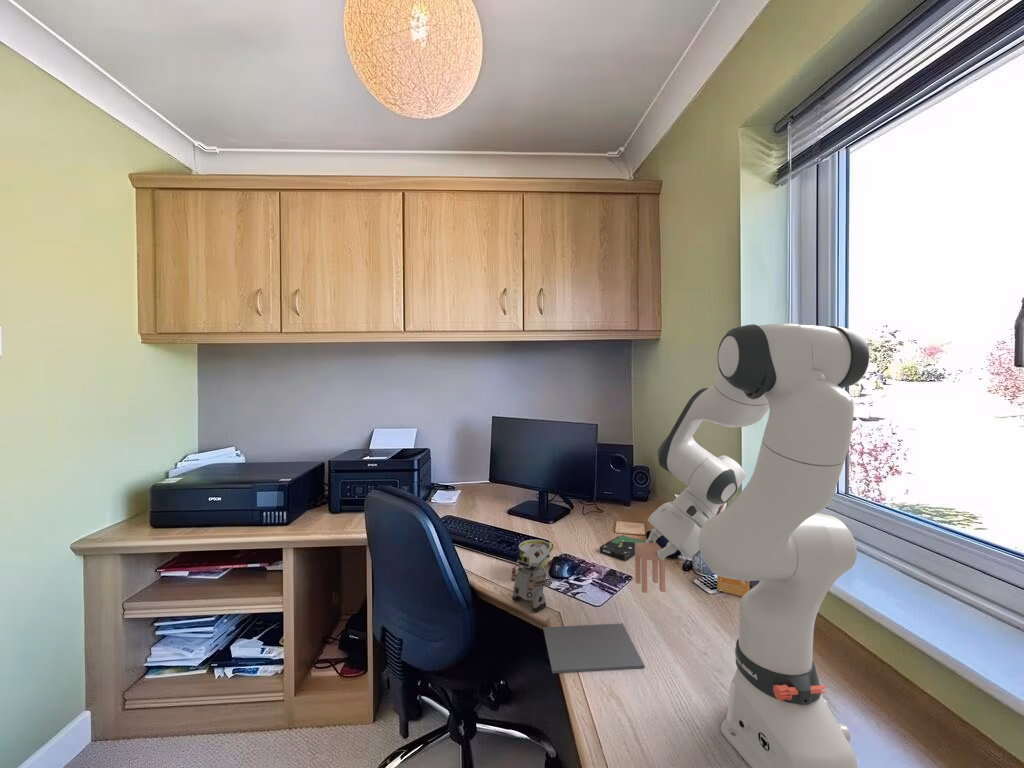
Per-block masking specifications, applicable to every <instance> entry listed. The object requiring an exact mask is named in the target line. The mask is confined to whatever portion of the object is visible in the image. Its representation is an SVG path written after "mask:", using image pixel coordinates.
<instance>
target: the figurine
mask: <svg viewBox="0 0 1024 768" xmlns="http://www.w3.org/2000/svg"><path fill="white" fill-rule="evenodd" d="M530 547H531V548H530V549H529V550H527V551H526V552H525V553H524V554H523V555H522V556H521V557H520V556H519V558H518V559H517V560H516V561H517V564H518V565H514V567H513V568H512V570H511V579H510V580H511V582H514V584H513V585H514V586H513V589H512V590H513V592H512V598H511V599H512V600H511V601H514V602H516V603H517V602H518V601H520V599H523V600H526V601H532V607H531V611H532V612H534V613H536V614H537V613H538V612H540V610H543V609H545V608H546V606H547V604H546V600H545V598H546V597H545V593H544V588H547V587H548V588H551V585H552V577H549V578H550V579H549V580H548V581H546V578H547V572H546V573H545V572H544V571H543V570H540V566H541V563H542V562H543V561H544V560H545V559H546V558H547V557H549V559H550V558H551V556H549V554H550V555H551V553H550V552H549V551H548V549H547V548H546V547H545V545H544V544H540V543H536V544H534V543H533V544H532V545H531V546H530ZM522 566H523V567H522ZM516 567H517V571H516ZM516 572H517V573H516Z"/></svg>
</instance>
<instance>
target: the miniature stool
mask: <svg viewBox="0 0 1024 768" xmlns="http://www.w3.org/2000/svg"><path fill="white" fill-rule="evenodd" d="M659 549H663V548H662V547H661V546H660V545H659V544H658V543H657V541H656V542H651V543H635V556H634V567H635V568H634V571H635V573H634V575H635V576H634V577H635V578H634V579H635V583H636V584H638V585H639V584H641V592H642V593H643V594H647V593H648V561H652V582H653V583H654V584H658V583H659V591H660V592H661V593H665V592H666V558H665V559H664V560H661V559H660V558H659V557H658V556H657V555H656V552H657V551H658V550H659ZM658 563H659V564H658ZM658 571H659V572H658Z"/></svg>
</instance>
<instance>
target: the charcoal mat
mask: <svg viewBox="0 0 1024 768" xmlns="http://www.w3.org/2000/svg"><path fill="white" fill-rule="evenodd" d="M542 628H543V635H544V639H545V644H546V649H547V655H548V659H549V663H550V668H551V673H552V674H565V673H566V674H567V673H581V672H583V671H585V672H600V671H616V670H617V671H618V670H635V669H645V664H644V662H643V660H642V658H641V656H640V654H639V652H638V650H637V649H636V647H635V645H634V642H633V641H632V639H631V637H630V634H629V633H628V631H627V629H626V627H625V626H624V624H623V623H607V624H606V623H605V624H589V625H587V624H584V625H583V624H582V625H569V626H568V625H567V626H547V627H546V626H545V627H542Z"/></svg>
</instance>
